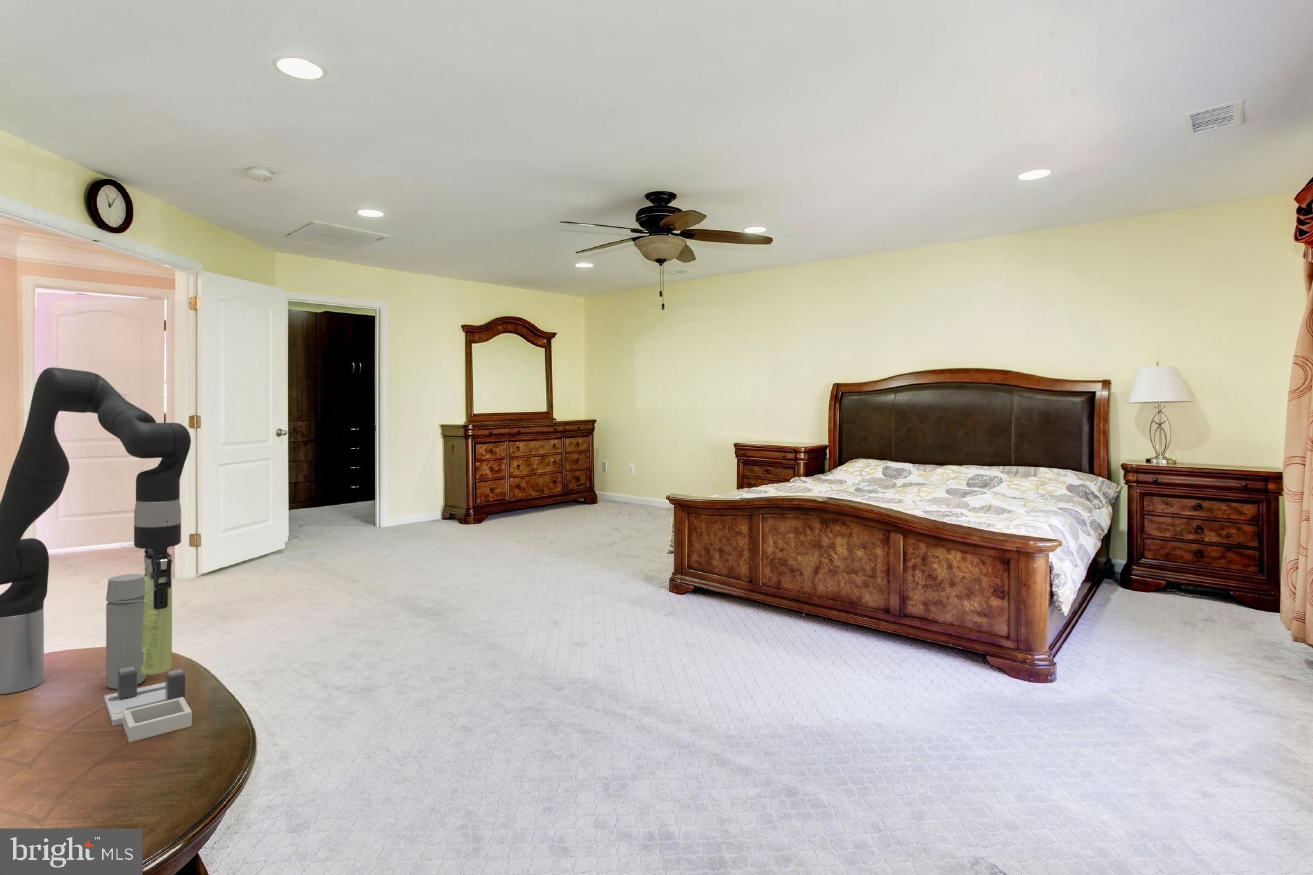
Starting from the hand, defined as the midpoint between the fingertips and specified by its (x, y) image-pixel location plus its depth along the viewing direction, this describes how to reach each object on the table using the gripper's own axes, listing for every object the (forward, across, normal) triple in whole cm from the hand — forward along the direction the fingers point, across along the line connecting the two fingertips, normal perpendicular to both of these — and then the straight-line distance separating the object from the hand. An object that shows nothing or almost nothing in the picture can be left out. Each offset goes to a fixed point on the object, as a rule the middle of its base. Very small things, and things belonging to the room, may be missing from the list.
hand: (157, 604), depth 132 cm
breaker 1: (+23, +17, +3) cm, 29 cm away
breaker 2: (+23, +9, -4) cm, 25 cm away
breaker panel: (+25, +13, +1) cm, 28 cm away
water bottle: (+25, +28, +1) cm, 38 cm away
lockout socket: (+25, 0, 0) cm, 25 cm away
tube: (+14, 0, 0) cm, 14 cm away
